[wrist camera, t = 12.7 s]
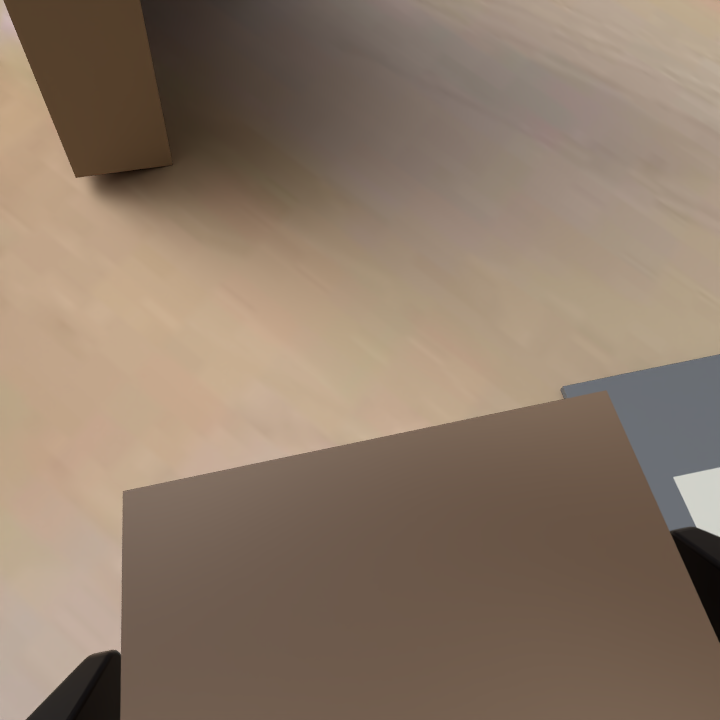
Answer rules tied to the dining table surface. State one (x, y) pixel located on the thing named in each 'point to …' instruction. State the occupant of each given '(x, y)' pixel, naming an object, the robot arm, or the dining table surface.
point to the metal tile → (672, 435)
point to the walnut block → (418, 582)
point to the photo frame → (95, 81)
